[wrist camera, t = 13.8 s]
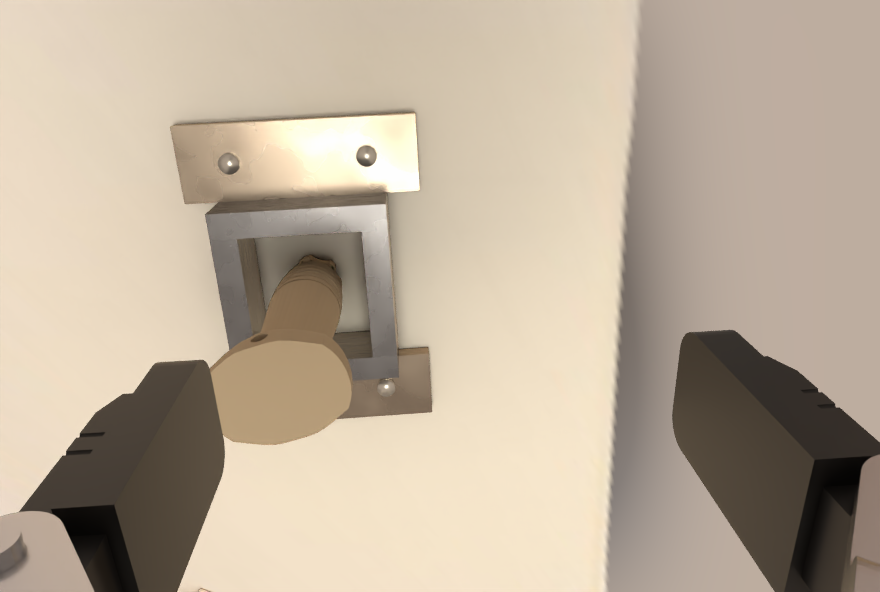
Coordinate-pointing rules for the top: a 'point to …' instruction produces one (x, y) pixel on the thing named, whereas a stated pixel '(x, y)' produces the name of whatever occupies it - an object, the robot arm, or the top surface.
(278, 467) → the top surface
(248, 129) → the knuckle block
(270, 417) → the handle
